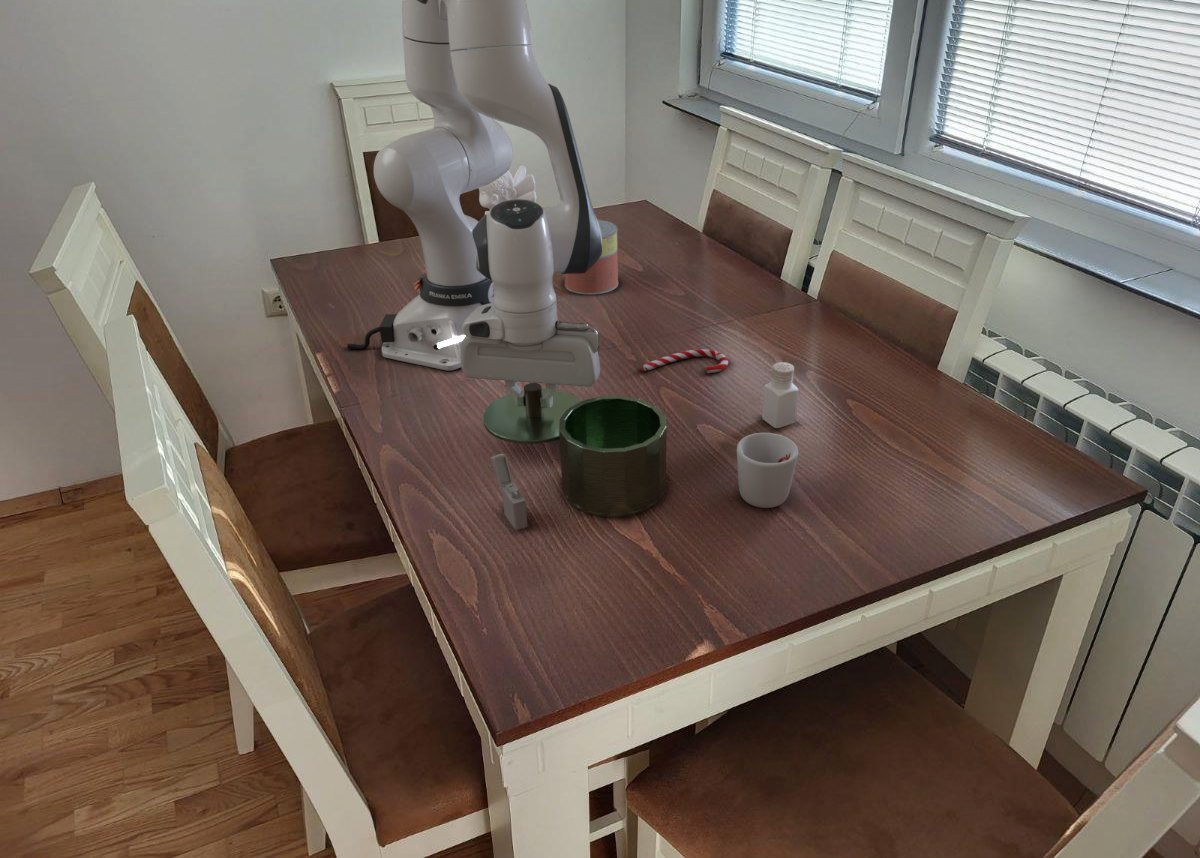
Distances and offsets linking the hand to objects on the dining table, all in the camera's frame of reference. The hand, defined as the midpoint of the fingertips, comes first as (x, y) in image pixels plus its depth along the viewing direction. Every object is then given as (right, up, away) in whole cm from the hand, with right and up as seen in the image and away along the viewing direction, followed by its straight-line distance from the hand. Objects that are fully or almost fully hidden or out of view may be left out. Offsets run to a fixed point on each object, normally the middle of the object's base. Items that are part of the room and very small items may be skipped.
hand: (534, 405), depth 132 cm
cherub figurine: (-11, +36, +70) cm, 80 cm away
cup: (+32, -12, -10) cm, 36 cm away
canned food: (+8, +27, +54) cm, 61 cm away
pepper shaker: (+37, -3, +5) cm, 38 cm away
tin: (+12, -12, -8) cm, 18 cm away
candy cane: (+24, +7, +21) cm, 33 cm away
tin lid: (0, -2, +1) cm, 2 cm away
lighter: (-2, -15, -13) cm, 20 cm away
